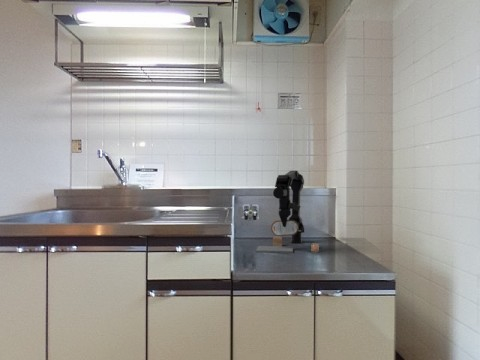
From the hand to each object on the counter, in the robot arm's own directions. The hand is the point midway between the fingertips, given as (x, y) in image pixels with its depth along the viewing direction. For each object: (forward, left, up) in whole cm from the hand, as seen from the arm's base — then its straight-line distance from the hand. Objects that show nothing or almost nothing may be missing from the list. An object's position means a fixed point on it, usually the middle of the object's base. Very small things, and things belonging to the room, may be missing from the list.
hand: (284, 226), depth 178 cm
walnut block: (-9, -4, -13) cm, 16 cm away
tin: (0, 0, -5) cm, 5 cm away
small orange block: (+4, +16, -12) cm, 20 cm away
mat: (+3, -5, -12) cm, 14 cm away
